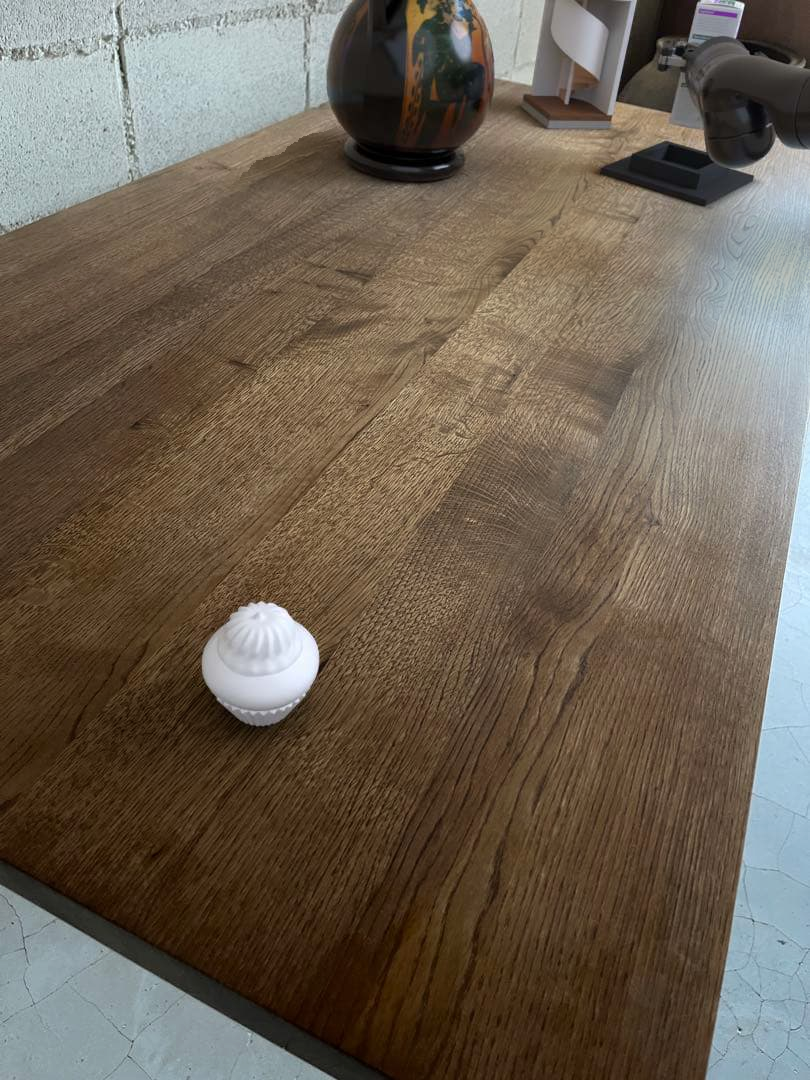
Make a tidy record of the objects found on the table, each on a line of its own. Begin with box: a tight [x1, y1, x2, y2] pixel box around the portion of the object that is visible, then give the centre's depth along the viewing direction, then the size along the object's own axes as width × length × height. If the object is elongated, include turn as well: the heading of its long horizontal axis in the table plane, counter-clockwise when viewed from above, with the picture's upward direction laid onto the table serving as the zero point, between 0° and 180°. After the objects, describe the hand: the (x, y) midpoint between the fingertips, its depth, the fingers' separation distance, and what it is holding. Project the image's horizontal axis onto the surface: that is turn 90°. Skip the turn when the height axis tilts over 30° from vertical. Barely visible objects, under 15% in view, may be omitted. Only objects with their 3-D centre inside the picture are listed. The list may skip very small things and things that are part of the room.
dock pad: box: [599, 140, 755, 207], centre depth 128 cm, size 16×16×3 cm
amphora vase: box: [325, 0, 496, 183], centre depth 115 cm, size 22×22×28 cm
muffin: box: [201, 600, 320, 727], centre depth 48 cm, size 6×6×7 cm
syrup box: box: [668, 0, 745, 131], centre depth 120 cm, size 6×6×14 cm
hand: (707, 50), depth 121 cm, fingers closed on syrup box, 6 cm apart
